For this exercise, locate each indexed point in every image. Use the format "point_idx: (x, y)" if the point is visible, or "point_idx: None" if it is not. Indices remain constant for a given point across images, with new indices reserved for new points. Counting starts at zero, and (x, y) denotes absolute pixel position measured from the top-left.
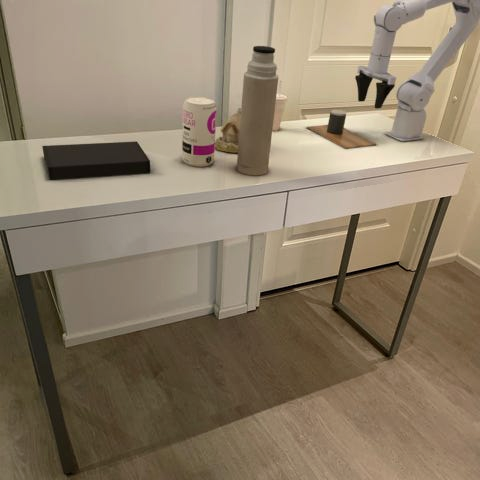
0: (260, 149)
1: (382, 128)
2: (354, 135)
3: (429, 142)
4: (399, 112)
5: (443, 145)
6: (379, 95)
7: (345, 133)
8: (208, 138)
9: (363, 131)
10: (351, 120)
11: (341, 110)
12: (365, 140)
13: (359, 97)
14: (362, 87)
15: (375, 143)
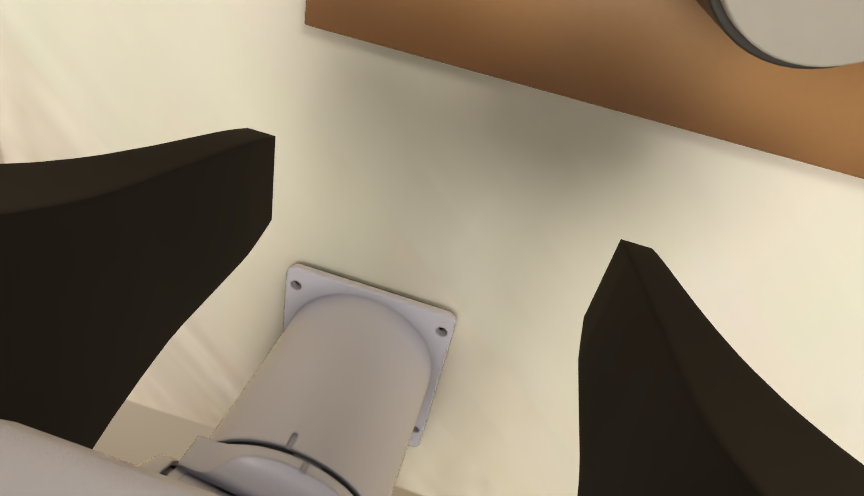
0: None
1: (543, 404)
2: (555, 39)
3: (235, 378)
4: (309, 424)
5: (179, 387)
6: (50, 165)
7: (654, 6)
8: None
9: (592, 245)
10: (822, 404)
11: (851, 56)
12: (405, 8)
13: (631, 259)
14: (641, 409)
15: (313, 25)
